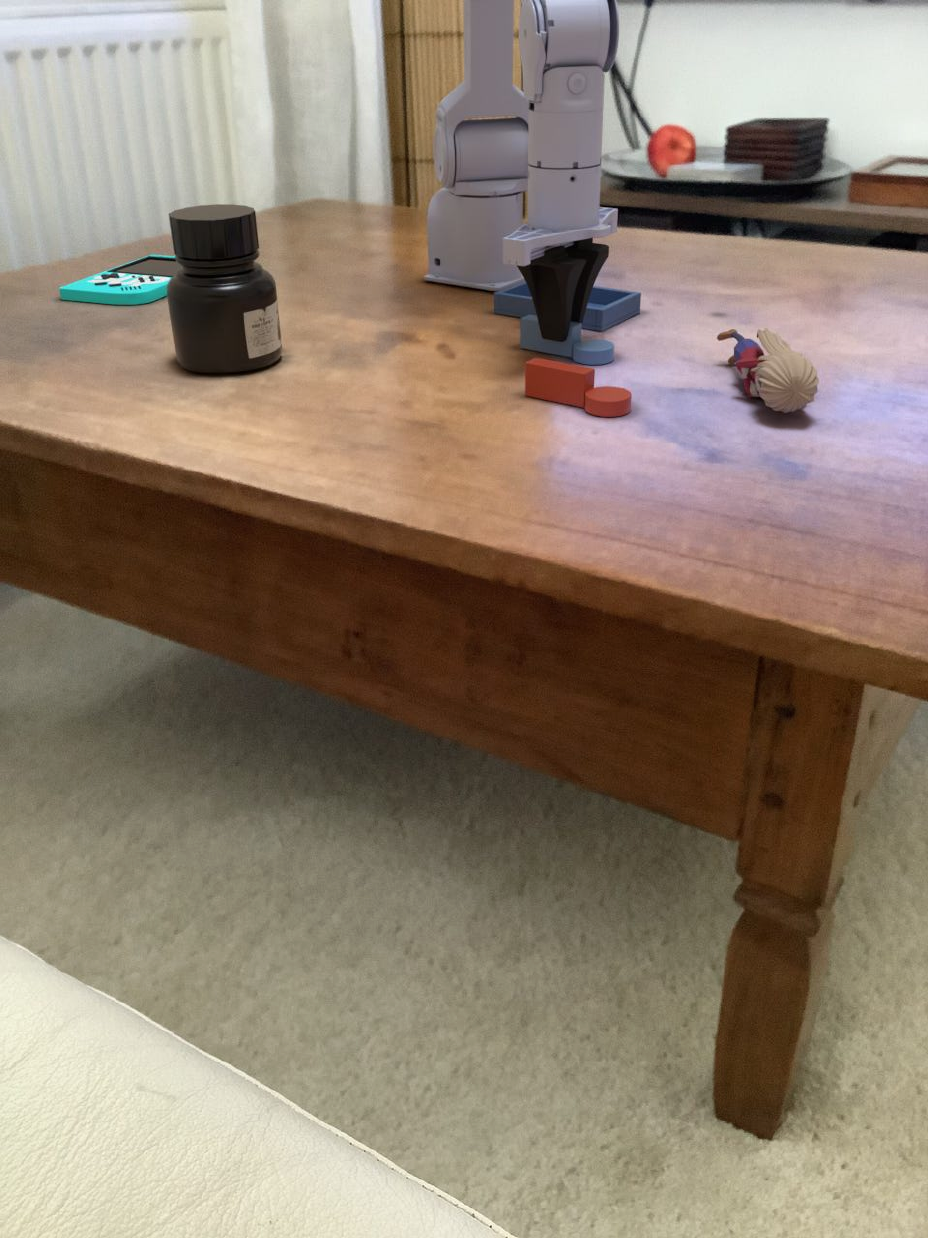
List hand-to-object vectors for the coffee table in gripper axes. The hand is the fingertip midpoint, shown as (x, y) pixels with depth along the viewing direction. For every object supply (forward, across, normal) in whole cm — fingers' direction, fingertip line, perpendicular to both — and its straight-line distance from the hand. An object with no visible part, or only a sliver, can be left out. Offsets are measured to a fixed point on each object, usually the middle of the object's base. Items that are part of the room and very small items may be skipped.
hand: (560, 336), depth 95 cm
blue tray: (+1, +11, +6) cm, 13 cm away
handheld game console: (+2, -2, +50) cm, 50 cm away
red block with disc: (+1, -10, -7) cm, 12 cm away
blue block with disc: (+1, 0, 0) cm, 1 cm away
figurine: (+2, 0, -18) cm, 19 cm away
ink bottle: (+2, -16, +22) cm, 28 cm away
